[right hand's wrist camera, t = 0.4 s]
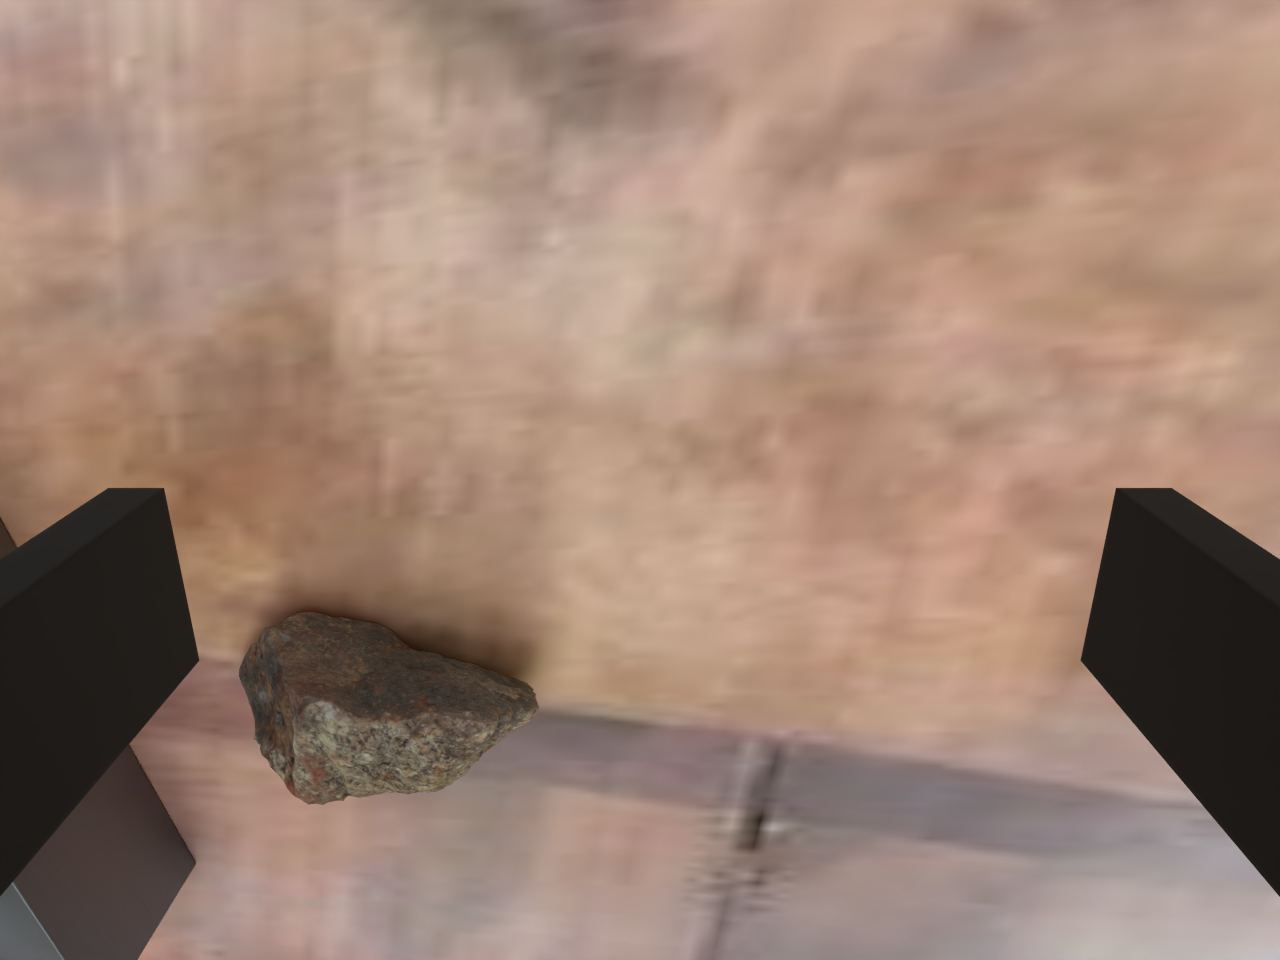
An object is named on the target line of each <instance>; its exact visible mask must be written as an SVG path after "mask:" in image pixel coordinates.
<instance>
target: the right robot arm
mask: <svg viewBox="0 0 1280 960" xmlns="http://www.w3.org/2000/svg"><path fill="white" fill-rule="evenodd" d="M198 661H199V657H198V652H197V647H196V642H195V637H194V632H193V628H192V623H191V618H190V613H189V608H188V603H187V598H186V593H185V589H184V584H183V579H182V574H181V569H180V564H179V559H178V555H177V550H176V545H175V540H174V535H173V530H172V525H171V520H170V516H169V511H168V506H167V501H166V496H165V491H164V488H108V489H106V490H105V491H103V492H102V493H100V494H99V495H97V496H96V497H94V498H93V499H91V500H90V501H88V502H87V503H85V504H84V505H82V506H80V507H79V508H77V509H76V510H74V511H73V512H71V513H70V514H68V515H67V516H65V517H64V518H62V519H61V520H59V521H58V522H56V523H55V524H53V525H52V526H50V527H49V528H47V529H46V530H44V531H43V532H41V533H40V534H38V535H37V536H35V537H33V538H32V539H30V540H29V541H27V542H26V543H24V544H23V545H21V546H20V547H18V548H17V549H15V550H14V551H12V552H11V553H9V554H8V555H6V556H5V557H3V558H2V559H0V896H1V895H2V894H3V893H4V892H5V890H6V889H7V888H8V887H9V886H10V884H11V883H12V882H13V881H14V880H15V878H16V877H17V876H18V875H19V874H20V873H21V871H22V870H23V869H24V868H25V867H26V865H27V864H28V863H29V862H30V861H31V859H32V858H33V857H34V856H35V855H36V854H37V852H38V851H39V850H40V849H41V848H42V846H43V845H44V844H45V843H46V842H47V841H48V839H49V838H50V837H51V836H52V835H53V833H54V832H55V831H56V830H57V829H58V827H59V826H60V825H61V824H62V823H63V822H64V820H65V819H66V818H67V817H68V816H69V814H70V813H71V812H72V811H73V810H74V808H75V807H76V806H77V805H78V804H79V803H80V801H81V800H82V799H83V798H84V797H85V795H86V794H87V793H88V792H89V791H90V789H91V788H92V787H93V786H94V785H95V784H96V782H97V781H98V780H99V779H100V778H101V776H102V775H103V774H104V773H105V772H106V770H107V769H108V768H109V767H110V766H111V765H112V763H113V762H114V761H115V760H116V759H117V757H118V756H119V755H120V754H121V753H122V752H123V750H124V749H125V748H126V747H127V746H128V744H129V743H130V742H131V741H132V740H133V738H134V737H135V736H136V735H137V734H138V733H139V731H140V730H141V729H142V728H143V727H144V725H145V724H146V723H147V722H148V721H149V719H150V718H151V717H152V716H153V715H154V714H155V712H156V711H157V710H158V709H159V708H160V706H161V705H162V704H163V703H164V702H165V700H166V699H167V698H168V697H169V696H170V695H171V693H172V692H173V691H174V690H175V689H176V687H177V686H178V685H179V684H180V683H181V681H182V680H183V679H184V678H185V677H186V676H187V674H188V673H189V672H190V671H191V670H192V668H193V667H194V666H195V665H196V664H197V663H198ZM1081 661H1082V663H1083V664H1084V665H1085V666H1086V667H1087V668H1088V670H1089V671H1090V672H1091V673H1092V674H1093V676H1094V677H1095V678H1096V679H1097V680H1098V681H1099V683H1100V684H1101V685H1102V686H1103V687H1104V689H1105V690H1106V691H1107V692H1108V693H1109V695H1110V696H1111V697H1112V698H1113V699H1114V700H1115V702H1116V703H1117V704H1118V705H1119V706H1120V708H1121V709H1122V710H1123V711H1124V712H1125V714H1126V715H1127V716H1128V717H1129V718H1130V719H1131V721H1132V722H1133V723H1134V724H1135V725H1136V727H1137V728H1138V729H1139V730H1140V731H1141V733H1142V734H1143V735H1144V736H1145V737H1146V738H1147V740H1148V741H1149V742H1150V743H1151V744H1152V746H1153V747H1154V748H1155V749H1156V750H1157V752H1158V753H1159V754H1160V755H1161V756H1162V757H1163V759H1164V760H1165V761H1166V762H1167V763H1168V765H1169V766H1170V767H1171V768H1172V769H1173V770H1174V772H1175V773H1176V774H1177V775H1178V776H1179V778H1180V779H1181V780H1182V781H1183V782H1184V784H1185V785H1186V786H1187V787H1188V788H1189V789H1190V791H1191V792H1192V793H1193V794H1194V795H1195V797H1196V798H1197V799H1198V800H1199V801H1200V803H1201V804H1202V805H1203V806H1204V807H1205V808H1206V810H1207V811H1208V812H1209V813H1210V814H1211V816H1212V817H1213V818H1214V819H1215V820H1216V822H1217V823H1218V824H1219V825H1220V826H1221V827H1222V829H1223V830H1224V831H1225V832H1226V833H1227V835H1228V836H1229V837H1230V838H1231V839H1232V841H1233V842H1234V843H1235V844H1236V845H1237V846H1238V848H1239V849H1240V850H1241V851H1242V852H1243V854H1244V855H1245V856H1246V857H1247V858H1248V859H1249V861H1250V862H1251V863H1252V864H1253V865H1254V867H1255V868H1256V869H1257V870H1258V871H1259V873H1260V874H1261V875H1262V876H1263V877H1264V878H1265V880H1266V881H1267V882H1268V883H1269V884H1270V886H1271V887H1272V888H1273V889H1274V890H1275V892H1276V893H1277V894H1278V895H1279V896H1280V559H1278V558H1277V557H1275V556H1274V555H1272V554H1271V553H1269V552H1268V551H1266V550H1265V549H1263V548H1262V547H1260V546H1259V545H1257V544H1256V543H1254V542H1253V541H1251V540H1250V539H1248V538H1247V537H1245V536H1243V535H1242V534H1240V533H1239V532H1237V531H1236V530H1234V529H1233V528H1231V527H1230V526H1228V525H1227V524H1225V523H1224V522H1222V521H1221V520H1219V519H1218V518H1216V517H1215V516H1213V515H1212V514H1210V513H1209V512H1207V511H1206V510H1204V509H1203V508H1201V507H1200V506H1198V505H1196V504H1195V503H1193V502H1192V501H1190V500H1189V499H1187V498H1186V497H1184V496H1183V495H1181V494H1180V493H1178V492H1177V491H1175V490H1174V489H1172V488H1116V491H1115V496H1114V501H1113V506H1112V511H1111V516H1110V520H1109V525H1108V530H1107V535H1106V540H1105V545H1104V550H1103V555H1102V559H1101V564H1100V569H1099V574H1098V579H1097V584H1096V589H1095V593H1094V598H1093V603H1092V608H1091V613H1090V618H1089V623H1088V628H1087V632H1086V637H1085V642H1084V647H1083V652H1082V657H1081Z"/></svg>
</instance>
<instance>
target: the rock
mask: <svg viewBox="0 0 1280 960" xmlns="http://www.w3.org/2000/svg"><path fill="white" fill-rule="evenodd" d="M239 677H240V680H241V683H242V685H243V687H244V689H245V691H246V694H247V696H248V700H249V704H250V706H251V708H252V712H253V715H254V718H255V736H254V739H255V740H257V742H258V744H260V745H261V747H260V749H261V753H262V755H263V756H264V757H265V758H266V759H267V760H268V762H269V764H270V767H271V768H272V769H273V770H274V771H275V772H276V773H277V774H278V775H279V776H280V777H281V778H282V780H283V781H284V783H285V785H286V787H287V788H288V790H289V791H290V792H291V793H292V794H293V795H294V796H295V797H297V798H300V799H301V800H302V801H304V802H306V803H307V804H315V803H316V804H321V805H323V804H325V803H327V802H331V801H336V800H337V801H344V799H345V797H347V796H354V797H368V796H369V795H376V794H377V795H378V794H382V793H384V792H388V793H392V792H399V793H405V794H410V793H416V792H436V791H438V790H441V789H443V788H444V787H445V786H448V785H450V784H451V783H453V782H454V781H456V780H457V779H459V778H460V777H462V776H463V775H464V774H465V773H466V772H467V771H468V770H469V768H470V766H471V765H472V764H473V763H475V762H476V761H477V760H479V758H480V757H481V755H482V754H483V753H485V752H486V751H487V750H488V749H490V748H491V747H492V746H494V745H495V744H496V743H498V742H499V741H500V739H501V738H503V737H504V736H505V735H506V734H508V733H510V732H512V731H513V730H515V729H516V728H517V727H522V726H523V725H524V724H526V723H527V722H529V721H530V720H532V719H533V718H534V717H535V715H536V713H537V711H538V709H539V707H538V703H537V700H536V698H535V696H536V694H535V693H534V692H533V689H532V688H531V687H530V686H529V685H528V684H527V683H525V682H522V681H520V680H518V679H516V678H507V677H505V676H503V675H501V674H500V673H498V672H494V671H491V670H488V669H484V668H482V667H480V666H478V665H476V664H472V663H464V662H462V661H460V660H457V659H449V658H446V657H445V656H443V655H441V654H437V653H433V652H425V651H417V650H414V649H412V648H410V647H408V646H407V644H404V643H403V642H402V641H401V640H400V639H399V638H398V637H397V635H396V634H395V633H394V632H393V631H390V630H389V629H387V628H385V627H383V626H382V625H380V624H378V623H372V622H364V621H358V620H352V619H347V618H342V617H333V618H331V617H329V616H327V615H326V614H324V613H315V612H302V613H296V614H294V615H291V616H289V617H287V618H286V619H285V620H284V621H283V622H282V623H281V624H280V625H279V626H276V627H270V628H265V629H264V631H263V633H262V635H261V637H260V642H258V643H256V644H253V645H252V646H251V648H250V649H249V651H248V652H247V654H246V655H245V657H244V659H243V662H242V664H241V667H240V670H239Z"/></svg>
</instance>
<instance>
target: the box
mask: <svg viewBox="0 0 1280 960" xmlns="http://www.w3.org/2000/svg"><path fill="white" fill-rule="evenodd" d="M15 549H17V548H16V546H15V544H14V543H13V541H12V539H11V537H10V535H9V534H8V532H7V530H6V528H5V527H4V525H3V523H2V521H1V520H0V559H2V558H3V557H5V556H6V555H8V554H9V553H11V552H12V551H14V550H15ZM194 866H195V861H194V860H193V858H192V856H191V854H190V853H189V851H188V849H187V847H186V846H185V844H184V842H183V840H182V838H181V837H180V835H179V833H178V831H177V830H176V828H175V826H174V824H173V823H172V821H171V819H170V817H169V816H168V814H167V812H166V810H165V809H164V807H163V805H162V803H161V801H160V800H159V798H158V796H157V794H156V793H155V791H154V789H153V787H152V786H151V784H150V782H149V780H148V779H147V777H146V775H145V773H144V772H143V770H142V768H141V766H140V764H139V763H138V761H137V759H136V757H135V756H134V754H133V752H132V750H131V749H130V747H129V745H128V746H127V747H126V748H125V749H124V750H123V752H122V753H121V754H120V755H119V756H118V757H117V759H116V760H115V761H114V762H113V763H112V765H111V766H110V767H109V768H108V769H107V770H106V772H105V773H104V774H103V775H102V776H101V778H100V779H99V780H98V781H97V782H96V784H95V785H94V786H93V787H92V788H91V789H90V791H89V792H88V793H87V794H86V795H85V797H84V798H83V799H82V800H81V801H80V803H79V804H78V805H77V806H76V807H75V808H74V810H73V811H72V812H71V813H70V814H69V816H68V817H67V818H66V819H65V820H64V822H63V823H62V824H61V825H60V826H59V827H58V829H57V830H56V831H55V832H54V833H53V835H52V836H51V837H50V838H49V839H48V841H47V842H46V843H45V844H44V845H43V846H42V848H41V849H40V850H39V851H38V852H37V854H36V855H35V856H34V857H33V858H32V859H31V861H30V862H29V863H28V864H27V865H26V867H25V868H24V869H23V870H22V871H21V873H20V874H19V875H18V876H17V877H16V878H15V880H14V881H13V882H12V883H11V884H10V886H9V887H8V888H7V889H6V890H5V892H4V893H3V894H2V895H1V896H0V960H137V959H138V958H139V956H140V955H141V953H142V951H143V950H144V948H145V946H146V945H147V943H148V941H149V940H150V938H151V937H152V935H153V933H154V932H155V930H156V928H157V927H158V925H159V923H160V922H161V920H162V918H163V917H164V915H165V914H166V912H167V910H168V909H169V907H170V905H171V904H172V902H173V900H174V899H175V897H176V896H177V894H178V892H179V891H180V889H181V887H182V886H183V884H184V882H185V881H186V879H187V877H188V876H189V874H190V873H191V871H192V869H193V868H194Z"/></svg>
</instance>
